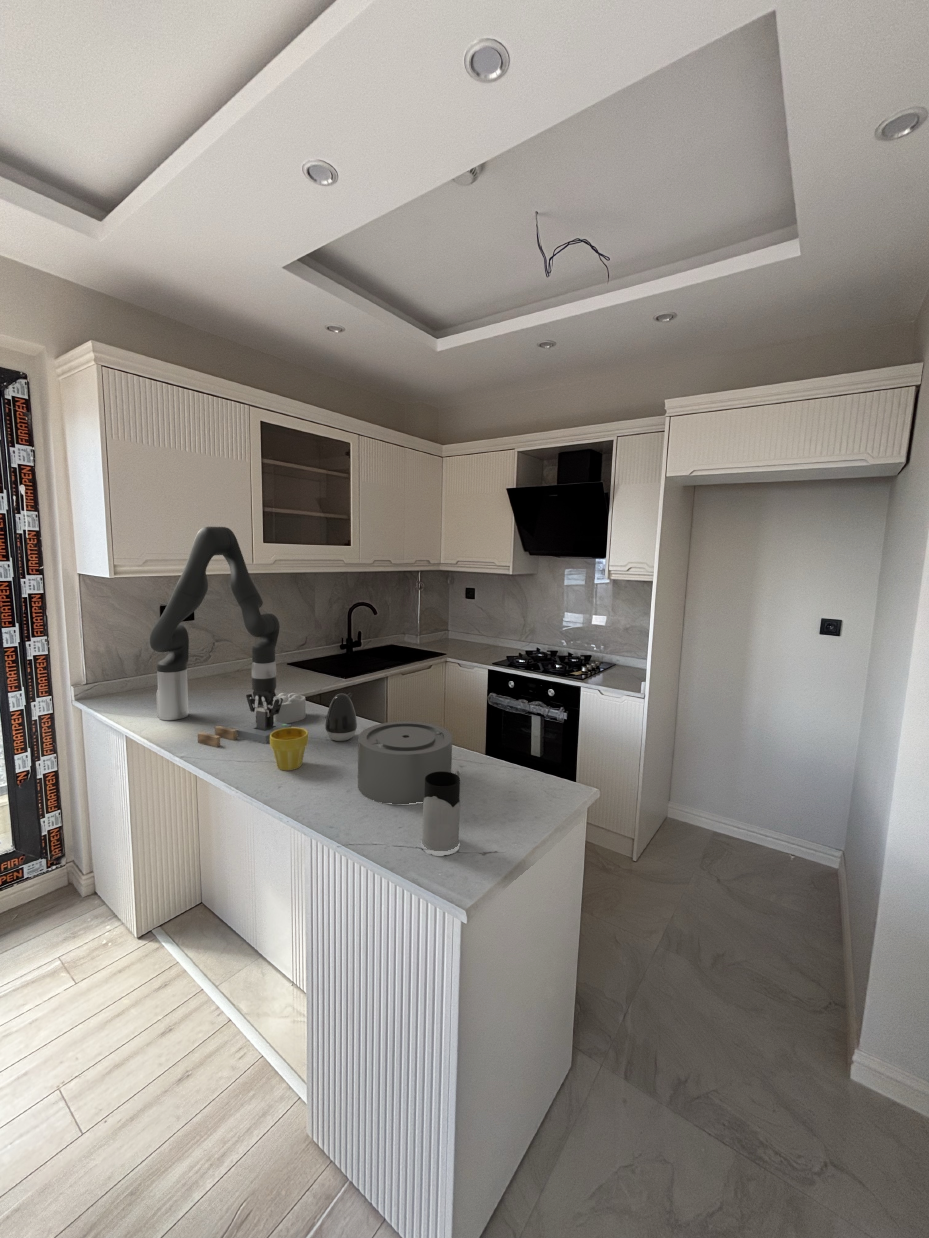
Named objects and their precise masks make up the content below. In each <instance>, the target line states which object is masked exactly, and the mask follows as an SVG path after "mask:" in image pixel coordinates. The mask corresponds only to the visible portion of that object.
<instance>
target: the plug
mask: <svg viewBox="0 0 929 1238" xmlns="http://www.w3.org/2000/svg"><path fill="white" fill-rule="evenodd" d="M270 712H271V710H270ZM255 723H256V729H258V730H262V731H267V730H269V729H271V728H273V726H272V727H267V715H266V710H264V706H261V707H258V710H257V711H256V714H255Z"/></svg>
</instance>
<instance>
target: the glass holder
mask: <svg viewBox="0 0 929 1238" xmlns="http://www.w3.org/2000/svg"><path fill="white" fill-rule="evenodd" d="M460 788H461V772H460V770H457V769H455V770H454V771H453V772H452V771H451V772H442V771H440V772H433V773H430V774H428V775H427V776H426V777H425V792H424V799H423V803H422V806H423V807H422V809H423V810H422V838H421V840H422V844H423V845H424V847H426V848H427V849H430V850H434V851H448V850H451V849H454V848H455V847H457V846H458V844H459V841H460V812H461V800H460V790H461V789H460Z"/></svg>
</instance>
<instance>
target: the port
mask: <svg viewBox="0 0 929 1238" xmlns="http://www.w3.org/2000/svg"><path fill="white" fill-rule="evenodd" d="M292 725H293V724H290V723H287V724H284V723H279V722H274V724H273V728H271V729H269V730H267V731H262V730H258V729H256V722H253V723H251V724H249V725H247V726H244V727H241V728H238V729H236V730H237V739H238V738H239V739H243V740H246V741H247V740H248V741H250V742H251V741H253V742H255V743H256V742H257V743H261V744H268V743H270V734H271V733H272V732H273V731H275V730H278V729H282V728H289V727H293V726H292Z"/></svg>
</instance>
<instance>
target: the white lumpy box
mask: <svg viewBox="0 0 929 1238" xmlns="http://www.w3.org/2000/svg"><path fill="white" fill-rule="evenodd" d="M276 697H278V698H282V699H283V701H282V705H281V708H280V711H279V713H278V714H276V715H274V722H279V723H284V724H291V723H295V722H299V721H302V720H304V719H305V718H306V716H307V715H306V714H307V712H306V709H307V707H306V703H307V702H306V696H304V695H301V694H298V693H296V692H292V693H289V694H287V693H284V692H281V693H279V694H278V695H276ZM268 706H270V705H268Z"/></svg>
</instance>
